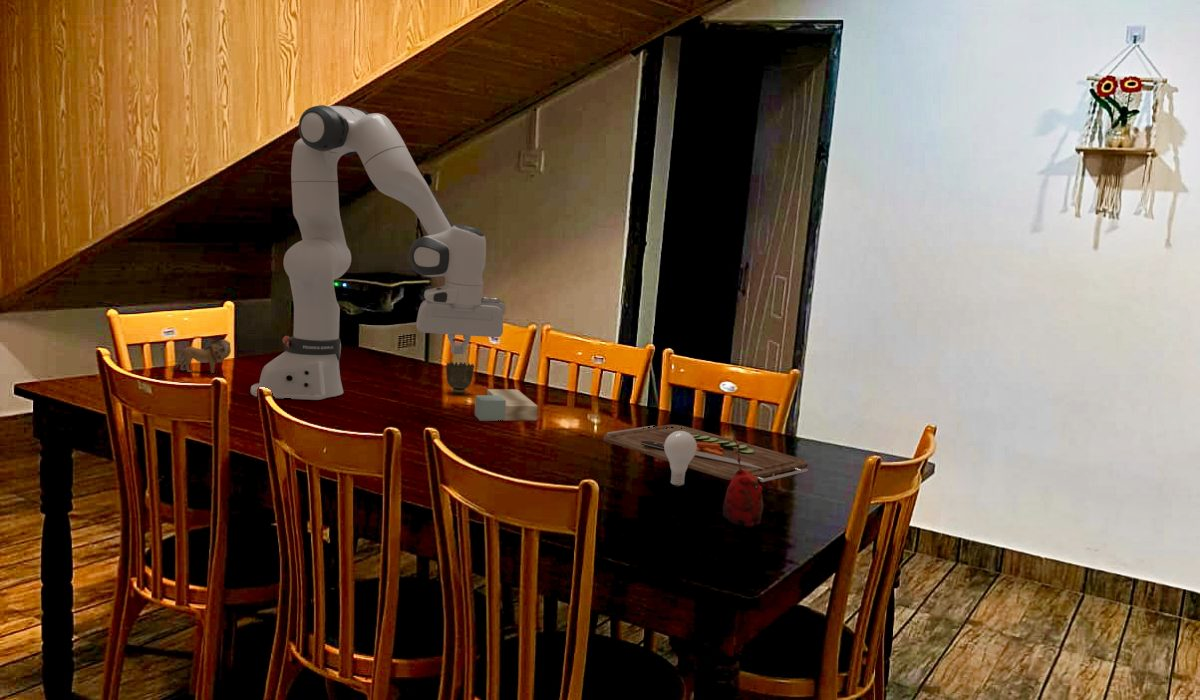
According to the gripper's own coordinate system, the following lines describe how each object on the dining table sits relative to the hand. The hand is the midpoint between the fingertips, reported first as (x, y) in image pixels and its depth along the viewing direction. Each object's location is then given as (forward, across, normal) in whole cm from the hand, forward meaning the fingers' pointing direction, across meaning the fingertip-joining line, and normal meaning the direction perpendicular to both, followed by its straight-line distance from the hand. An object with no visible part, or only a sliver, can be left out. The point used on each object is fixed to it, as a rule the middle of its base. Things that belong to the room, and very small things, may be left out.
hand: (457, 353), depth 245 cm
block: (+15, -9, +1) cm, 18 cm away
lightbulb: (+13, -33, +60) cm, 70 cm away
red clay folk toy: (+13, -36, +82) cm, 90 cm away
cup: (+16, -7, -27) cm, 32 cm away
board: (+15, -16, -6) cm, 23 cm away
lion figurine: (+19, +57, -54) cm, 81 cm away
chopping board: (+14, -50, +34) cm, 62 cm away
